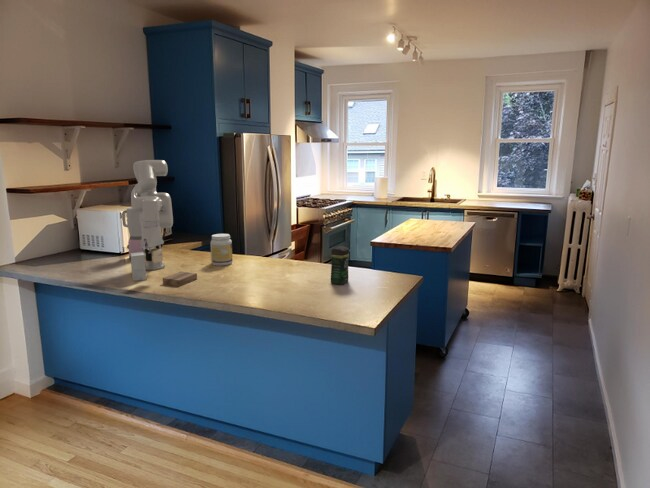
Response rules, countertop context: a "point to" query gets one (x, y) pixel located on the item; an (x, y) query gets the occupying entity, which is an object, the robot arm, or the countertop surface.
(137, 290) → the countertop surface
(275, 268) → the countertop surface
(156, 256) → the maple cube
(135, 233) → the blender
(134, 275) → the small box
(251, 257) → the countertop surface
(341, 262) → the coffee jar
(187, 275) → the walnut board
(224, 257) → the supplement tub
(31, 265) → the countertop surface
